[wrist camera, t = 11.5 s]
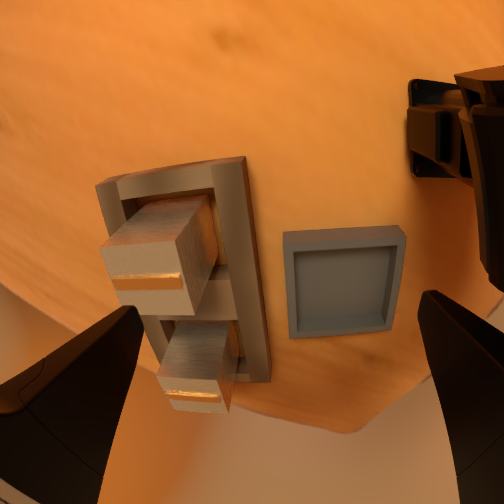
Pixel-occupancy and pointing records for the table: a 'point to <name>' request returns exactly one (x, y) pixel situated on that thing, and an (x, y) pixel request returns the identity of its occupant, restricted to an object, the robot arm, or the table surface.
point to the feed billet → (200, 366)
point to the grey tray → (342, 279)
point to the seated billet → (163, 256)
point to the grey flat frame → (222, 276)
